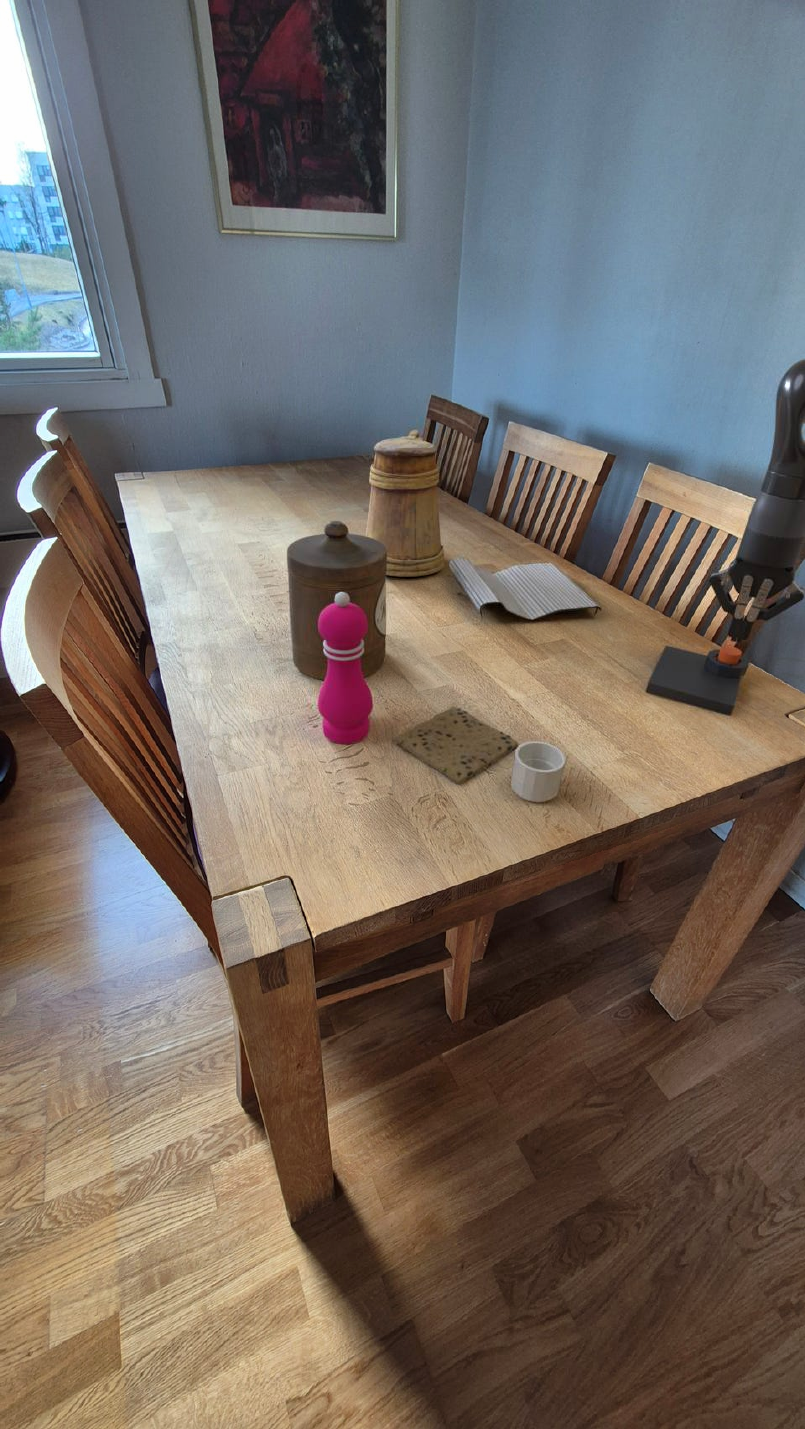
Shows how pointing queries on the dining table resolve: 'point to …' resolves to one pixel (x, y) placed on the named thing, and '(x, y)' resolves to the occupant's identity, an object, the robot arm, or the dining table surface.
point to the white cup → (537, 771)
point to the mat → (521, 589)
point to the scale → (697, 679)
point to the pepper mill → (344, 672)
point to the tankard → (406, 505)
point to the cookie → (456, 744)
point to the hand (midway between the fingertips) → (736, 640)
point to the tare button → (729, 655)
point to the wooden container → (324, 573)
